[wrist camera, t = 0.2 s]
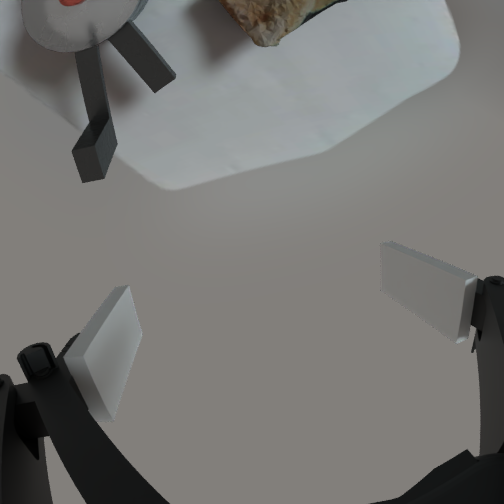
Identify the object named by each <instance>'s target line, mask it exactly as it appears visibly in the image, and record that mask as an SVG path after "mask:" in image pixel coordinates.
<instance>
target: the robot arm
mask: <svg viewBox="0 0 504 504" xmlns="http://www.w3.org/2000/svg"><path fill="white" fill-rule="evenodd" d="M380 256H381V287H380V291H382V292H384V293H385V294H387V295H388V296H390V297H391V298H392V299H394V300H395V301H396V302H398V303H399V304H401V305H402V306H404V307H405V308H407V309H408V310H409V311H411V312H412V313H414V314H415V315H417V316H418V317H419V318H421V319H422V320H424V321H425V322H426V323H428V324H429V325H431V326H432V327H433V328H435V329H436V330H438V331H439V332H440V333H442V334H443V335H444V336H446V337H447V338H449V339H450V340H452V341H453V342H454V343H455V344H457V343H459V342H461V341H463V340H466V339H468V336H469V331H470V326H471V325H472V326H474V327H476V334H475V337H474V342H473V347H472V351H471V352H472V353H473V352H474V350H475V349H476V352H477V361H478V371H479V386H480V409H481V411H480V412H481V430H480V431H481V432H480V455H479V456H477V457H474V456H473V455H472V454H471V453H470V452H469V451H468V450H465V451H463V452H462V453H460V454H458V455H457V456H455V457H454V458H452V459H450V460H449V461H447V462H445V463H443V464H442V465H440V466H438V467H436V468H434V469H433V470H432V471H431V472H430V473H429V474H428V475H427V476H425V477H424V478H423V479H422V480H421V481H420V482H418V483H417V484H416V485H415V486H413V487H412V488H411V489H410V490H408V491H407V492H406V493H404V494H403V495H402V496H400V497H398V498H395V499H392V500H386V501H382V502H376V503H371V504H504V278H503V277H501V276H490V277H486V278H485V279H484V281H483V280H480V279H478V276H476V275H474V274H472V273H470V272H467V271H465V270H463V269H460V268H458V267H455V266H453V265H451V264H448V263H446V262H443V261H441V260H439V259H436V258H434V257H431V256H429V255H426V254H424V253H421V252H419V251H416V250H414V249H411V248H408V247H406V246H403V245H401V244H398V243H396V242H393V241H389V242H384V243H380ZM142 335H143V334H142V330H141V327H140V324H139V320H138V317H137V313H136V310H135V306H134V302H133V298H132V295H131V291H130V287H129V285H125V286H119V287H115V288H114V289H113V290H112V292H111V293H110V294H109V296H108V297H107V298H106V299H105V301H104V302H103V303H102V305H101V306H100V307H99V309H98V310H97V311H96V313H95V314H94V315H93V317H92V318H91V319H90V321H89V322H88V323H87V325H86V326H85V327H84V329H83V330H82V331H81V333H78V334H77V335H75V336H74V337H72V338H71V339H70V340H69V341H68V343H67V344H66V345H65V347H64V348H63V349H62V352H60V354H59V355H58V356H57V358H55V356H54V353H53V351H52V348H51V346H50V345H49V344H48V343H44V342H42V343H36V344H33V345H30V346H28V347H26V348H24V349H23V350H22V351H20V353H19V354H18V356H17V360H18V362H19V364H20V366H21V368H22V370H23V372H24V374H25V376H26V378H27V380H28V383H24V384H19V385H14V384H13V382H12V380H11V378H10V376H8V375H6V374H1V375H0V504H53V502H52V497H51V491H50V485H49V480H48V472H47V465H46V457H45V447H44V437H46V436H50V438H51V440H52V442H53V445H54V446H55V448H56V451H57V453H58V455H59V457H60V459H61V460H62V462H63V464H64V466H65V468H66V470H67V472H68V473H69V475H70V477H71V479H72V480H73V482H74V484H75V486H76V487H77V489H78V490H79V492H80V494H81V495H82V497H83V498H84V500H85V502H86V503H87V504H170V503H169V502H167V501H166V500H165V499H164V498H163V497H162V496H161V495H160V494H159V493H158V492H157V491H156V490H155V489H154V488H153V487H152V486H151V485H150V484H149V483H148V482H147V481H146V480H145V479H144V478H143V477H142V476H141V475H140V474H139V472H138V471H136V469H135V468H134V467H133V466H132V465H131V464H130V463H129V461H128V460H127V459H126V458H125V457H124V456H123V455H122V453H121V452H120V451H119V450H118V449H117V448H116V446H115V445H114V444H113V443H112V441H111V440H110V439H109V438H108V436H107V435H106V434H105V433H104V431H103V430H102V429H101V427H100V426H99V425H98V423H97V422H109V421H110V422H113V421H114V419H115V415H116V412H117V409H118V406H119V403H120V399H121V396H122V393H123V390H124V387H125V384H126V381H127V378H128V375H129V372H130V369H131V366H132V363H133V360H134V357H135V354H136V352H137V349H138V346H139V343H140V340H141V338H142ZM88 410H89V411H88ZM89 412H90V413H89Z"/></svg>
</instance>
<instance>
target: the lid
mask: <svg viewBox="0 0 504 504" xmlns="http://www.w3.org/2000/svg"><path fill="white" fill-rule="evenodd" d="M139 2H140V0H22V18H23V23H24V26H25V28H26V30H27V32H28V34H29V35H30V36H31V37H32V39H33V40H34V41H36V42H37V43H38V44H39V45H41V46H42V47H45V48H47V49H49V50H53V51H58V52H75V51H77V52H75V57H76V63H77V68H78V73H79V78H80V83H81V88H82V93H83V97H84V102H85V106H86V110H87V114H88V118H89V124H88V126H87V127H86V129H85V130H84V132H83V133H82V135H81V136H80V138H79V140H78V141H77V143H76V145H75V146H74V148H73V150H72V154H73V157H74V160H75V163H76V166H77V169H78V172H79V174H80V177H81V180H82V183H85V182H90V181H95V180H101V179H104V178H105V175H106V173H107V170H108V167H109V164H110V162H111V159H112V157H113V154H114V152H115V149H116V147H117V144H118V143H117V139H116V135H115V131H114V126H113V122H112V117H111V112H110V108H109V103H108V98H107V93H106V87H105V82H104V77H103V71H102V65H101V59H100V52H99V45H98V46H95V45H97V44H99V43H101V42H102V41H104V40H106V39H108V38H109V37H111V36H112V35H113V34H115V33H116V32H117V31H118V30H119V29H121V28H122V27H123V26H124V25H125V23H126V22H127V21H128V20H129V19H130V17H131V16H132V15H133V13H134V12H135V10H136V8H137V6H138V4H139ZM93 46H94V47H93ZM90 47H91V48H90Z"/></svg>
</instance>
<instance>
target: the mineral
mask: <svg viewBox="0 0 504 504" xmlns="http://www.w3.org/2000/svg"><path fill="white" fill-rule="evenodd" d="M345 1H347V0H219V2H220V3H221V4H222V5H223V7H224V8H225V9H226V10H227V12H228V13H229V14H230V15H231V16H232V18H233V19H234V20H235V21H236V22H237V23H238V25H239V26H240V27H241V28H242V29H243V30H244V31H245V32H246V33H247V34H248V35H249V36H250V37H251V38H252V40H253V42H254V43H255V44H256V45H258V46H261V47H268V46H278V45H279V42H280V40H281V38H283V37H284V36H286V35H287V34H289V33H290V32H292V31H294V30H295V29H297V28H298V27H300V26H301V25H302V24H304V23H305V22H307V21H308V20H310V19H311V18H313V17H315V16H316V15H318V14H319V13H321V12H322V11H324V10H326V9H327V8H329V7H331V6H333V5H334V4H336V3H340V2H345Z"/></svg>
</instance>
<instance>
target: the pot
mask: <svg viewBox="0 0 504 504" xmlns="http://www.w3.org/2000/svg"><path fill="white" fill-rule="evenodd" d="M147 1H148V0H140V2H139V4H138V6H137V8H136V10H135V12H134V13H133V15H132V16H131V17H130V19H129V20H128V21H127V22H126V23H125V25H124V26H123V27H122V28H121V29H119V30H118V31H117V32H116V33H115V34H113V35H112V36H111V37H109V38H108V40H109V41H110V42H111V44H112V45H113V46H114V47H115V48H116V49H117V50H118V52H119V53H120V54H121V55H122V56H123V57H124V58H125V59H126V61H127V62H128V63H129V64H130V65H131V66H132V68H133V69H134V70H135V71H136V72H137V73H138V74H139V76H140V77H141V78H142V79H143V80H144V81H145V83H146V84H147V85H148V86H149V87H150V88H151V90H152V91H153V92H154V93H156V92H157V91H159V90H160V89H161V88H163V87H164V86H166V85H167V84H168V83H170V82H171V81H173V80H174V79H175V78H176V74H175V72H174V71H173V70H172V69H171V67H170V66H169V65H168V64H167V62H166V61H165V60H164V59H163V57H162V56H161V55H160V54H159V53H158V51H157V50H156V49H155V48H154V46H153V45H152V44H151V43H150V42H149V40H148V39H147V38H146V37H145V36H144V34H143V33H142V32H141V31H140V30H139V29H138V27H137V26H136V25H135V24H134V23H133V22H132V21H133V20H134V19H135V18H136V17H137V16H138V15H139V14H140V13H141V11H142V10H143V9H144V7H145V5H146V4H147Z"/></svg>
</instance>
